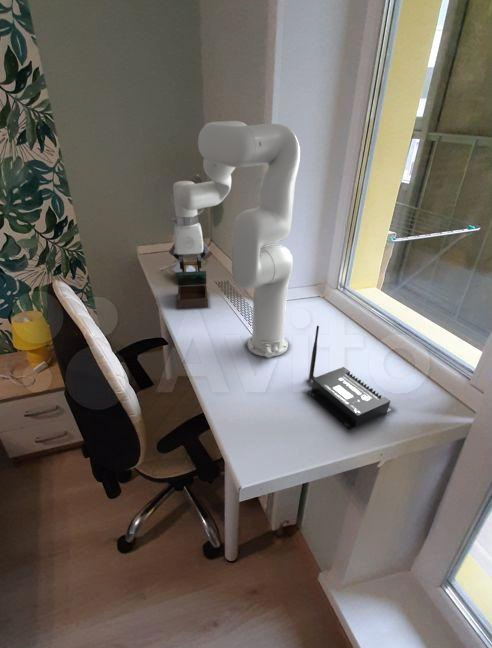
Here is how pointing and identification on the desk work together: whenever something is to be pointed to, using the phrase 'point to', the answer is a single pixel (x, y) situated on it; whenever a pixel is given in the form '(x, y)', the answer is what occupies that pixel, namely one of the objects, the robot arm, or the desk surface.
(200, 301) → the drawer box
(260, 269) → the robot arm
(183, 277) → the panel with handle
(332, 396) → the wireless controller
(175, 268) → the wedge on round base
